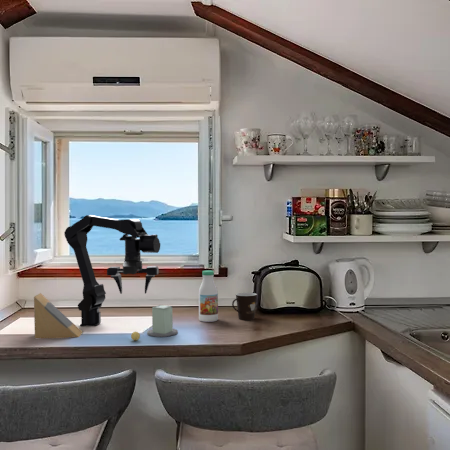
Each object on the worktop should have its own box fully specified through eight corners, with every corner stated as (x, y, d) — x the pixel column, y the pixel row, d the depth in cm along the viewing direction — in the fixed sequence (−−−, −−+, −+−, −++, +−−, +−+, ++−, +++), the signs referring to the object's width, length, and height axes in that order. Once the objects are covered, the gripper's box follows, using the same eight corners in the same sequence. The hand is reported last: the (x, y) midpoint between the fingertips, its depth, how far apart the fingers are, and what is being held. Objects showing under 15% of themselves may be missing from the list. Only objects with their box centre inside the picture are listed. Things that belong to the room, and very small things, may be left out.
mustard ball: (130, 341, 172) (130, 332, 172) (132, 339, 175) (131, 330, 175) (139, 341, 172) (139, 332, 172) (140, 339, 175) (140, 330, 175)
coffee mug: (252, 315, 212) (252, 292, 212) (260, 319, 204) (260, 295, 204) (226, 317, 208) (225, 293, 208) (233, 322, 200) (232, 297, 200)
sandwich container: (79, 337, 178) (78, 295, 178) (34, 339, 176) (33, 296, 176) (83, 331, 187) (83, 291, 186) (40, 333, 185) (39, 292, 185)
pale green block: (152, 332, 182) (152, 307, 182) (160, 329, 187) (160, 304, 186) (164, 333, 180) (164, 308, 179) (172, 330, 184) (172, 306, 184)
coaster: (144, 337, 178) (144, 335, 178) (149, 329, 189) (149, 328, 189) (176, 336, 178) (176, 335, 178) (179, 329, 189) (179, 327, 189)
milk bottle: (194, 320, 204) (194, 270, 203) (208, 317, 210) (208, 269, 209) (208, 323, 199) (208, 272, 198) (222, 320, 204) (221, 270, 204)
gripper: (103, 254, 183) (103, 297, 184) (154, 254, 183) (155, 296, 184) (109, 251, 194) (110, 292, 195) (158, 251, 194) (159, 292, 195)
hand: (133, 293), depth 192 cm, fingers open, 9 cm apart
